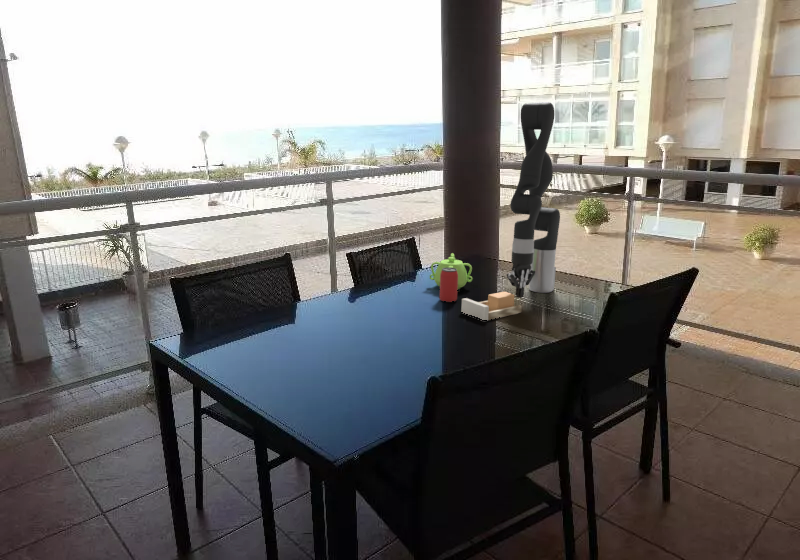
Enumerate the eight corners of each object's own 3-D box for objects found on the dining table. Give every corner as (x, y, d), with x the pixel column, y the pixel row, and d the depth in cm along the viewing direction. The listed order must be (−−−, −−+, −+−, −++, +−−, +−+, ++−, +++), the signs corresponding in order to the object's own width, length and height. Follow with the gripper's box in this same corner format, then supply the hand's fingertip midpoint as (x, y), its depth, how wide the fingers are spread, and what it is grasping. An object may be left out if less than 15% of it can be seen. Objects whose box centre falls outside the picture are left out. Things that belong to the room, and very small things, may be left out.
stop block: (465, 311, 205) (466, 298, 204) (488, 320, 196) (488, 306, 195) (461, 312, 204) (461, 298, 202) (483, 321, 195) (484, 307, 193)
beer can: (457, 298, 221) (458, 267, 218) (456, 303, 215) (458, 271, 212) (439, 297, 222) (440, 266, 219) (439, 302, 215) (440, 270, 212)
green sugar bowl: (423, 285, 239) (424, 255, 236) (451, 280, 246) (452, 251, 243) (446, 294, 226) (447, 263, 223) (475, 289, 233) (476, 259, 230)
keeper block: (503, 307, 211) (504, 291, 210) (513, 310, 207) (514, 294, 206) (487, 310, 207) (488, 294, 205) (497, 314, 203) (498, 298, 201)
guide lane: (498, 304, 214) (498, 298, 213) (521, 312, 205) (521, 305, 204) (465, 311, 205) (465, 304, 204) (488, 320, 196) (488, 313, 195)
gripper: (527, 246, 213) (524, 292, 218) (501, 250, 206) (499, 297, 210) (543, 250, 208) (539, 296, 212) (517, 254, 200) (514, 302, 204)
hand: (519, 297), depth 211 cm, fingers closed
